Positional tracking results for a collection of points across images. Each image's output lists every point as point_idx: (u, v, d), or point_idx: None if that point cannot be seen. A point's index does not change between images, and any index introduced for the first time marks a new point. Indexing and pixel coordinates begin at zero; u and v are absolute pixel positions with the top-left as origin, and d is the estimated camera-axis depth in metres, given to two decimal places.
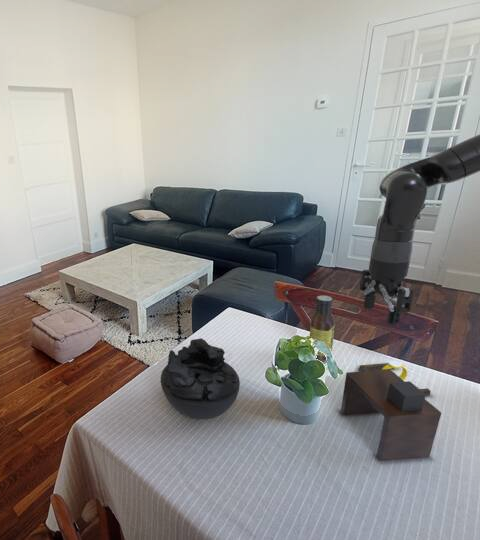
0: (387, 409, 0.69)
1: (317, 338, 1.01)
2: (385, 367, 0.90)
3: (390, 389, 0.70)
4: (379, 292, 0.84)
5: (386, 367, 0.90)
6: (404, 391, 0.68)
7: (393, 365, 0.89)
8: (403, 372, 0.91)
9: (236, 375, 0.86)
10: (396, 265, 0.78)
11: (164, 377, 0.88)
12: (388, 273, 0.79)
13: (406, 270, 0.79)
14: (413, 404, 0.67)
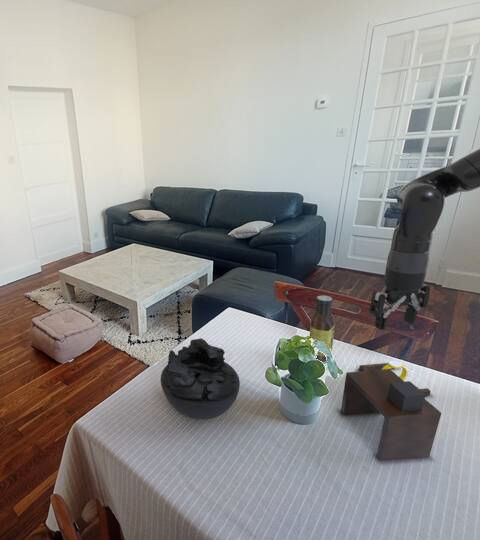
0: (387, 409, 0.69)
1: (317, 338, 1.01)
2: (385, 367, 0.90)
3: (390, 389, 0.70)
4: None
5: (386, 367, 0.90)
6: (404, 391, 0.68)
7: (393, 365, 0.89)
8: (403, 372, 0.91)
9: (236, 375, 0.86)
10: (388, 271, 0.82)
11: (164, 377, 0.88)
12: (384, 277, 0.83)
13: (399, 281, 0.80)
14: (413, 404, 0.67)
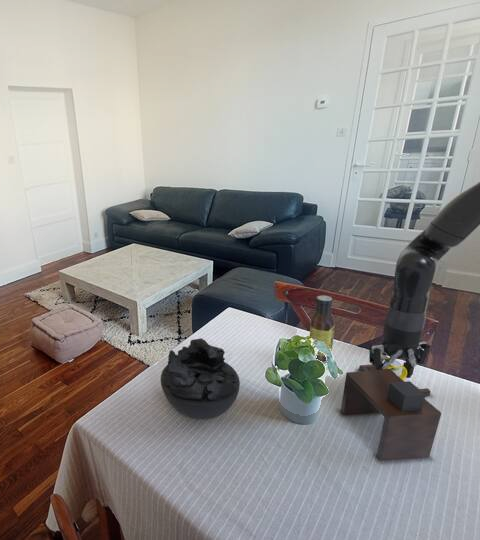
0: (387, 409, 0.69)
1: (317, 338, 1.01)
2: None
3: (390, 389, 0.70)
4: None
5: None
6: (404, 391, 0.68)
7: (393, 365, 0.89)
8: (403, 372, 0.91)
9: (236, 375, 0.86)
10: (386, 325, 0.87)
11: (164, 377, 0.88)
12: None
13: (394, 336, 0.85)
14: (413, 404, 0.67)
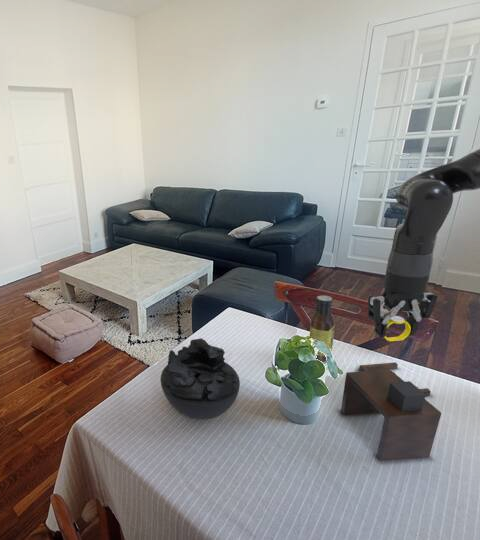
0: (387, 409, 0.69)
1: (317, 338, 1.01)
2: None
3: (390, 389, 0.70)
4: None
5: (387, 322, 0.80)
6: (404, 391, 0.68)
7: (395, 320, 0.79)
8: (406, 329, 0.80)
9: (236, 375, 0.86)
10: (387, 273, 0.77)
11: (164, 377, 0.88)
12: None
13: (396, 284, 0.75)
14: (413, 404, 0.67)
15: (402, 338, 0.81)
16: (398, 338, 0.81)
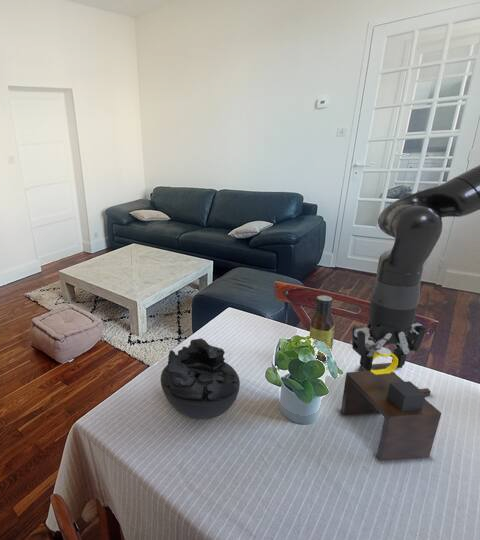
0: (387, 409, 0.69)
1: (317, 338, 1.01)
2: None
3: (390, 389, 0.70)
4: None
5: (373, 355, 0.74)
6: (404, 391, 0.68)
7: (381, 352, 0.73)
8: (393, 361, 0.75)
9: (236, 375, 0.86)
10: (371, 303, 0.71)
11: (164, 377, 0.88)
12: (369, 309, 0.73)
13: (381, 316, 0.69)
14: (413, 404, 0.67)
15: (389, 371, 0.75)
16: (385, 371, 0.75)
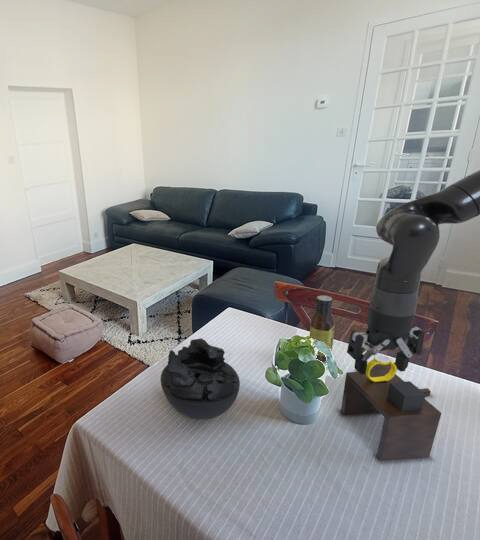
0: (387, 409, 0.69)
1: (317, 338, 1.01)
2: (370, 363, 0.75)
3: (390, 389, 0.70)
4: None
5: (371, 362, 0.75)
6: (404, 391, 0.68)
7: (379, 360, 0.74)
8: (392, 369, 0.76)
9: (236, 375, 0.86)
10: (370, 310, 0.72)
11: (164, 377, 0.88)
12: None
13: (379, 323, 0.70)
14: (413, 404, 0.67)
15: (388, 378, 0.76)
16: (383, 378, 0.76)
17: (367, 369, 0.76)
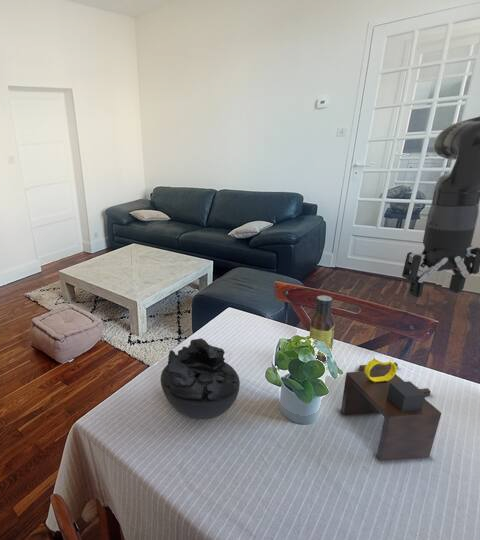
0: (387, 409, 0.69)
1: (317, 338, 1.01)
2: (370, 363, 0.75)
3: (390, 389, 0.70)
4: None
5: (371, 362, 0.75)
6: (404, 391, 0.68)
7: (379, 360, 0.74)
8: (392, 369, 0.76)
9: (236, 375, 0.86)
10: (427, 229, 0.72)
11: (164, 377, 0.88)
12: None
13: (438, 240, 0.70)
14: (413, 404, 0.67)
15: (388, 378, 0.76)
16: (383, 378, 0.76)
17: (367, 369, 0.76)
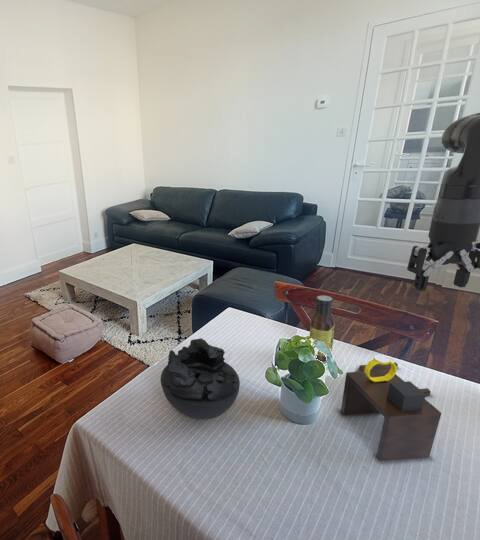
0: (387, 409, 0.69)
1: (317, 338, 1.01)
2: (370, 363, 0.75)
3: (390, 389, 0.70)
4: None
5: (371, 362, 0.75)
6: (404, 391, 0.68)
7: (379, 360, 0.74)
8: (392, 369, 0.76)
9: (236, 375, 0.86)
10: (433, 223, 0.72)
11: (164, 377, 0.88)
12: (429, 231, 0.74)
13: (444, 233, 0.70)
14: (413, 404, 0.67)
15: (388, 378, 0.76)
16: (383, 378, 0.76)
17: (367, 369, 0.76)
